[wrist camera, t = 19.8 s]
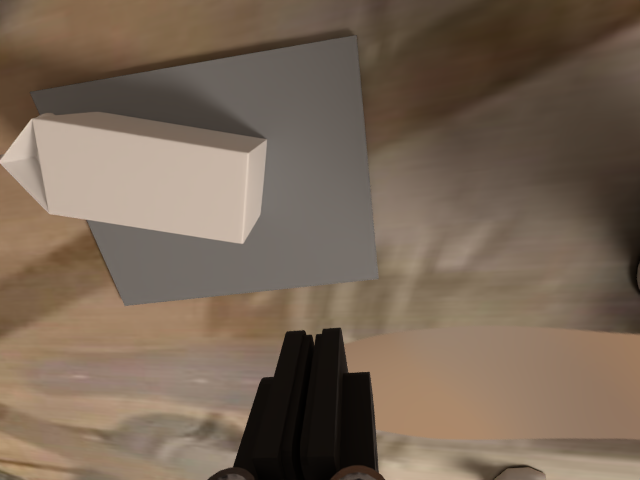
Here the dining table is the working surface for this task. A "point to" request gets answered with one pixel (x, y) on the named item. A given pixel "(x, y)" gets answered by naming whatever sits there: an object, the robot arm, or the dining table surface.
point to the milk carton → (141, 173)
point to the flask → (521, 474)
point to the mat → (279, 178)
